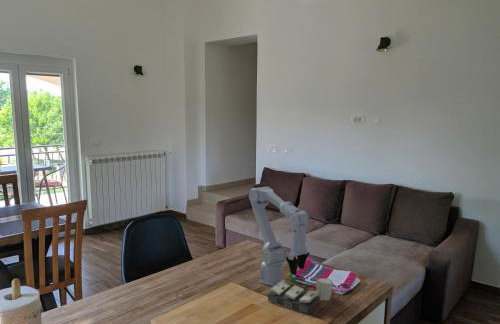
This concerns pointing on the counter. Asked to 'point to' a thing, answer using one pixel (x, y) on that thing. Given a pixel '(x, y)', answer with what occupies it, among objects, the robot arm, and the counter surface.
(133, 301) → the counter surface
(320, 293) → the shot glass
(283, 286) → the pale rectangular block
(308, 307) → the filing cabinet
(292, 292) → the filing cabinet drawer
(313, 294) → the cabinet drawer
